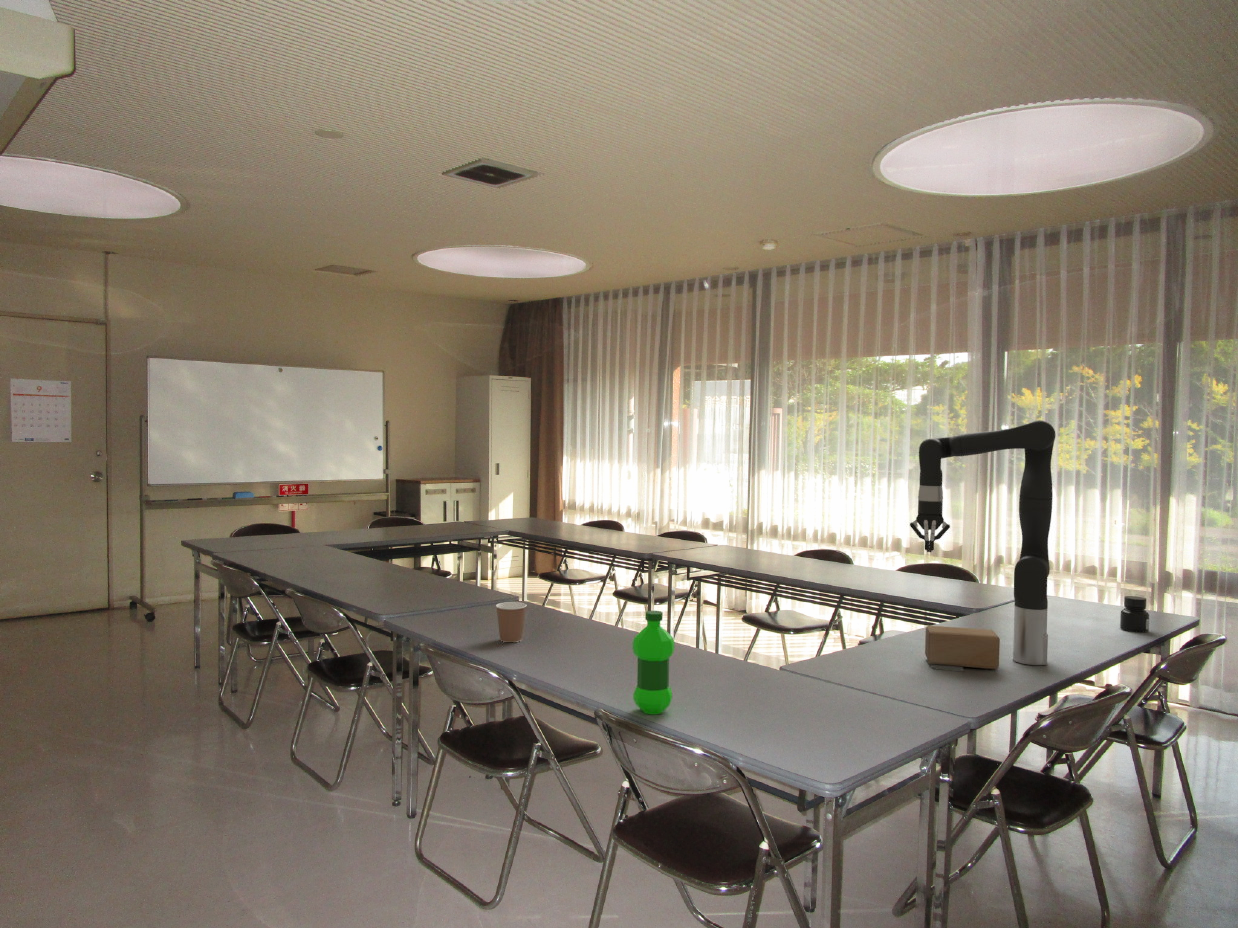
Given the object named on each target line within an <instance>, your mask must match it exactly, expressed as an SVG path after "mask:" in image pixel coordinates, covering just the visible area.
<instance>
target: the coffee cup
mask: <svg viewBox="0 0 1238 928" xmlns="http://www.w3.org/2000/svg"><path fill="white" fill-rule="evenodd" d="M527 606H528V605H527V603H524V602H519V601H505V602H499V603H497V604H495V607H496V613H497V623H498V632H499V639H500V642H502V641H503V642H502V643H504V642H517V643H520V642H521V641H522V639H523V634H524V626H525V625H524V624H525V617H526V607H527ZM519 641H520V642H519Z"/></svg>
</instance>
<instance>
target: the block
mask: <svg viewBox="0 0 1238 928" xmlns="http://www.w3.org/2000/svg"><path fill="white" fill-rule="evenodd" d="M1000 640H1001V639H1000V636H999V635H998V634H997V633H996V632H995V631H994V630H992V629H985V628H984V629H983V628H970V627H969V628H968V627H955V626H942V625H941V626H940V625H926V627H925V642H924V643H925V644H924V648H925V649H924V650H925V651H924V654H925V657H926V660H927V662H928V663H929V664H930V665H931V664H938V665H951V666H963V668H965V667H967V668H976V669H978V668H979V669H988V670H990V669H991V670H997V669H998V668H999V667H1000V644H1001V643H1000V642H1001V641H1000Z"/></svg>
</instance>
